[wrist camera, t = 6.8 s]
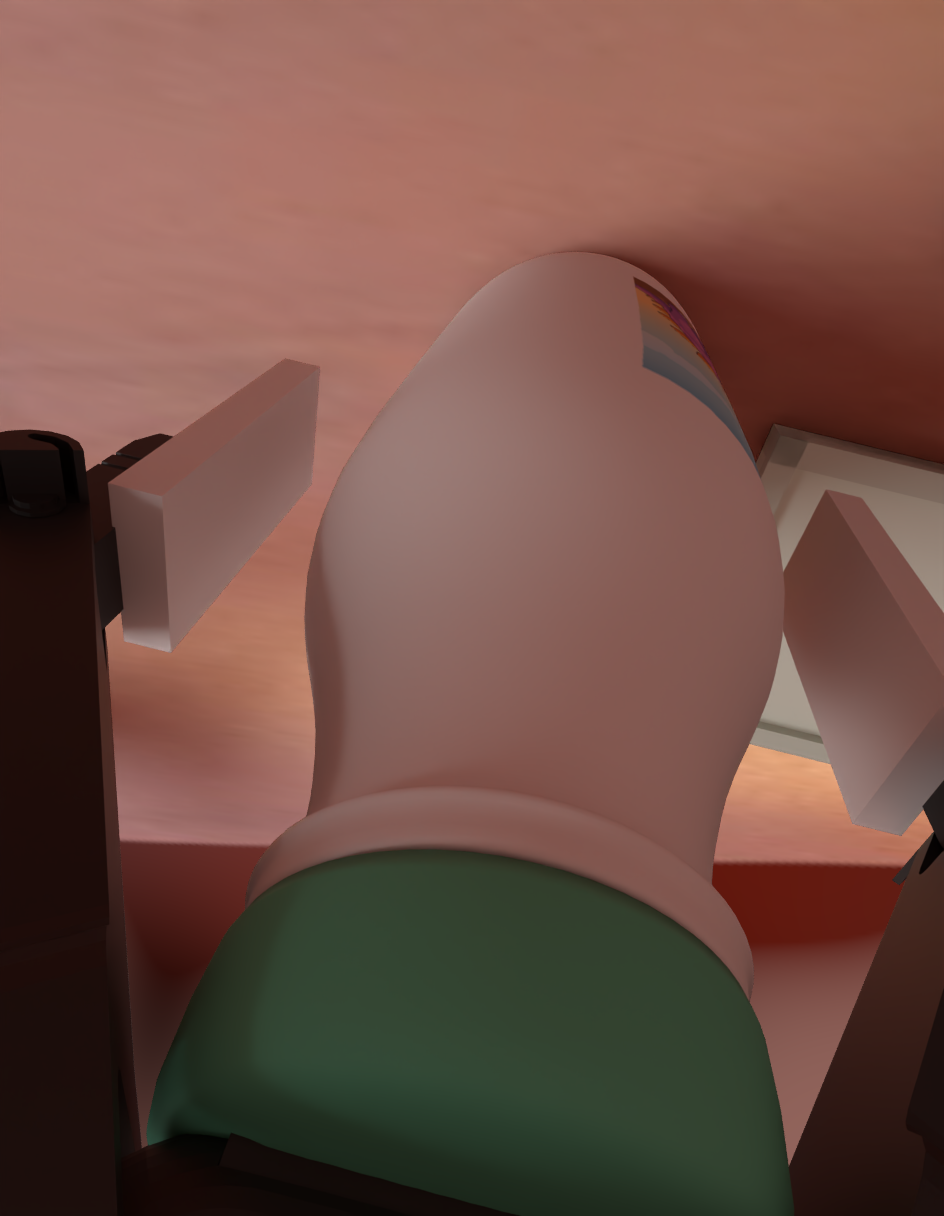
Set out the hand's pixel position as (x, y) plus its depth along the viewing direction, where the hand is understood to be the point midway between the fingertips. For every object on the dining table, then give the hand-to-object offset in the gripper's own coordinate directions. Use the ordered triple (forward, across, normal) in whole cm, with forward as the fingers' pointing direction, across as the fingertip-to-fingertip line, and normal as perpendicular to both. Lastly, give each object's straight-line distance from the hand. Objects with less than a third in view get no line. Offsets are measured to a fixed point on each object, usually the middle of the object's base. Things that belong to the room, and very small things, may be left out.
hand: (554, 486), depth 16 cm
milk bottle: (+7, 0, 0) cm, 7 cm away
